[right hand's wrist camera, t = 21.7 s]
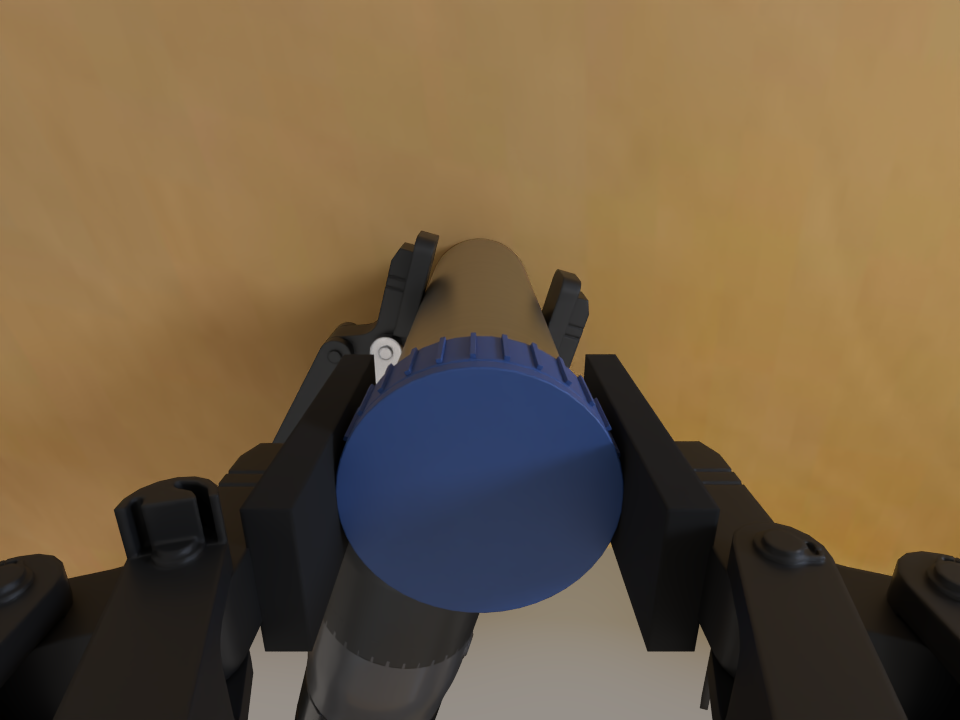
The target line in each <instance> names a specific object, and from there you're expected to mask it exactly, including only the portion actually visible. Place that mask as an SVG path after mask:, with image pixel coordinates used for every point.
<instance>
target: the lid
mask: <svg viewBox="0 0 960 720" xmlns="http://www.w3.org/2000/svg"><path fill="white" fill-rule="evenodd" d="M610 430H612V428H611V426H610V424H609V422H608V420H607V418H606V416H605V414H604V412H603V410H602V408H601V406H600V404H599V401H598V399H597V398H595V399H593V398H592V396H591V394H590V391H589V389H588V387H587V385H586V383H585V381H584V378H583V377H582V376H581V375H580V376H579V377H576V376H575V374H574V373H573V372H572V371H571V370H570V369H569V368H567V367H566V366H565V364H564V361H563V359H562V358H561V357H559V356H558V357H557V359H556V358H554V357H552V356H551V355H549V354H547V353H545V352H544V351H542V350H540V349H538V347H537V344H535V343H533V342H532V343H531V345H528V344H526V343H522V342H518V341H515V340H511V339H508V337H507V335H504V334H502V337H501V338H500V337H493V336H476V332H474V333H471V336H468V337H459V338H453V339H449V340H446V338H445V337H441V338H440V341H439V342H437V343H434V344H432V345H429V346H426V347H424V348H421V349H420V350H418V349H417V347H415V348H413V349H412V350H411V353H410V355H408V356H407V357H405V358H404V359H403V360H401V361H400V362H398V363H397V364H396V365H393V364H392V363H391V364H390V365H388V367H387V369H386V371H385V374H384V376H382V378H381V379H380V380H379V381H378V383H377V384H376V385H373V384H371V385H370V387H369V388H368V390H367V393H366V395H365V397H364V399H363V401H362V403H361V405H360V407H358V409H357V411H356V413H355V415H354V417H353V419H352V421H351V423H350V425H349V427H348V429H347V431H346V434H345V436H344V438H343V440H344V441H346V444H345V446H344V449H343V451H342V454H341V456H340V460H339V464H338V468H337V473H336V497H337V507H338V514H339V519H340V523H341V525H342V528H343V530H344V533H345V535H346V537H347V539H348V541H349V543H350V544H351V546H352V548H353V550H354V551H355V552H356V554H357V555H358V556H359V558H360V559H361V560H362V562H363V563H364V564H365V565H366V566H367V567H368V568H369V569H370V570H371V571H372V572H373V573H374V574H375V575H376V576H377V577H379V578H380V579H381V580H382V581H384V582H385V583H386V584H388V585H389V586H390V587H392V588H394V589H395V590H397V591H399V592H400V593H402V594H404V595H406V596H408V597H410V598H412V599H415V600H417V601H419V602H422V603H425V604H428V605H431V606H434V607H438V608H443V609H447V610H452V611H460V612H471V613H488V612H500V611H506V610H512V609H517V608H521V607H525V606H528V605H531V604H534V603H537V602H540V601H542V600H544V599H547V598H549V597H552V596H553V595H555V594H557V593H559V592H560V591H562V590H564V589H566V588H567V587H568V586H570V585H571V584H573V583H574V582H575V581H577V580H578V579H580V578H581V577H582V576H583V575H584V574H585V573H586V572H587V571H588V570H589V569H590V568H592V566H593V565H594V564H595V563H596V562H597V560H598V559H599V558H600V557H601V556H602V554H603V553H604V551H605V550H606V548H607V546H608V545H609V543H610V542H611V540H612V537H613V535H614V533H615V531H616V529H617V526H618V522H619V519H620V516H621V512H622V503H623V493H624V478H623V473H622V467H621V462H620V459H619V457H620V451H619V449H618V447H617V445H616V443H615V441H614V438H613V436H612V434H611V432H610Z"/></svg>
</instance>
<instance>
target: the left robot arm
mask: <svg viewBox="0 0 960 720" xmlns="http://www.w3.org/2000/svg"><path fill="white" fill-rule="evenodd" d="M438 239H439V236H438V235H435V234H431V233H428V232H424V231H421V232H420V233H419V235H418V236H417V239H416V242H415V245H413V244H409V243H406V242H405V243H404V244H403V245H402V247H401V248H400V249H399V250H398V252H397V253H396V255H395V256H394V257H393V259H392V260H391V265H390V269H389V274H388V278H387V282H386V287H385V291H384V296H383V300H382V304H381V309H380V313H379V318H378V320H377V321H376V322H374V323H371V324H364V325H356V324H354V323H351V322H346V323H343V324H341V325H339V326H338V327H337V329H336V330H335V331H334V332H333V333H332V335H331V336H330V337H329V338H328V339H327V341H326V342H325V343H324V344H323V346H322V347H321V348H320V350H319V352H318V354H317V356H316V358H315V360H314V362H313V364H312V366H311V368H310V370H309V372H308V374H307V376H306V378H305V380H304V382H303V384H302V386H301V388H300V390H299V392H298V394H297V395H296V397H295V399H294V401H293V403H292V405H291V407H290V409H289V411H288V413H287V415H286V417H285V419H284V421H283V423H282V425H281V427H280V429H279V431H278V433H277V435H276V437H275V439H274V441H273V443H285V441H286V440H287V438H288V437H289V435H290V434H291V432H292V431H293V430H294V428H295V427H296V425H297V424H298V422H299V421H300V419H301V418H302V416H303V415H304V413H305V412H306V410H307V409H308V407H309V406H310V404H311V403H312V402H313V400H314V399H315V397H316V396H317V394H318V393H319V391H320V390H321V388H322V387H323V385H324V384H325V382H326V381H327V379H328V378H329V376H330V375H331V373H332V372H333V371H334V369H335V368H336V366H337V365H338V363H339V362H340V360H341V359H342V357H343V356H344V354H374V362H375V376H376V384H377V383H378V381H379V380H380V379H381V378H382V376H384V374H385V371H386V369H387V367H388V365H390V364H391V363H392V364H393V365H396V364H397V362H398V360H399V357H400V355H401V352H402V350H403V347H404V345H405V342H406V340H407V337H408V335H409V332H410V330H411V327H412V325H413V322H414V320H415V317H416V315H417V312H418V310H419V307H420V305H421V302H422V300H423V297H424V295H425V291H426V287H427V283H428V279H429V275H430V271H431V267H432V263H433V259H434V255H435V251H436V247H437V243H438ZM580 289H581V281H580V280H579V278H578V277H577V276H576V275H575V274H573V273H569V272H566V271H563V270H559V269H557V270H556V272H555V274H554V277H553V279H552V282H551V285H550V288H549V291H548V294H547V297H546V300H545V303H544V306H543V309H542V314H543V316H544V319H545V321H546V324H547V326H548V329H549V331H550V334H551V336H552V339H553V341H554V344H555V346H556V349H557V352H558V354H559V357H561V358H562V359H563V361H564V364H565V366H566V367H567V368H569V367H570V365H571V362H572V359H573V356H574V354H575V351H576V348H577V346H578V343H579V339H580V337H581V335H582V332H583V328H584V326H585V324H586V321H587V318H588V316H589V306H588V300H587V298H586V297H585V296H584V294H583V293H582V292H581V291H580ZM478 615H479V613H471V612H460V611H452V610H447V609H443V608H438V607H434V606H431V605H428V604H425V603H422V602H419V601H417V600H415V599H412V598H410V597H408V596H406V595H404V594H402V593H400V592H399V591H397V590H395V589H394V588H392V587H390V586H389V585H388V584H386V583H385V582H384V581H382V580H381V579H380V578H379V577H377V576H376V575H375V574H374V573H373V572H372V571H371V570H370V569H369V568H368V567H367V566H366V565H365V564H364V563H363V562H362V560H361V559H360V558H359V556H358V555H357V554H356V552H355V551H354V550H353V548H352V546H351V544H350V543H349V544H348V547H347V549H346V552H345V555H344V558H343V561H342V564H341V567H340V570H339V573H338V576H337V579H336V582H335V585H334V588H333V591H332V594H331V597H330V600H329V603H328V606H327V609H326V612H325V615H324V618H323V621H322V624H321V627H320V630H319V632H318V635H317V638H316V641H315V644H314V647H313V650H312V651H308V660H307V666H306V671H305V675H304V679H303V683H302V688H301V692H300V696H299V701H298V704H297V710H296V715H295V720H435V718H436V716H437V713H438V710H439V707H440V704H441V701H442V699H443V697H444V695H445V693H446V692H447V690H448V689H449V687H450V686H451V684H452V682H453V680H454V678H455V676H456V674H457V672H458V669H459V667H460V664H461V662H462V659H463V658H464V656H466V654H467V652H468V649H469V646H470V643H471V640H472V637H473V629H474V626H475V623H476V621H477V618H478Z"/></svg>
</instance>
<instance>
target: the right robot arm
mask: <svg viewBox="0 0 960 720" xmlns="http://www.w3.org/2000/svg"><path fill="white" fill-rule="evenodd" d="M584 381H585V383H586V385H587V387H588V389H589V391H590V394H591V396H592V398H593V399H595V398H597V399H598V401H599V404H600V406H601V408H602V410H603V412H604V414H605V416H606V418H607V420H608V422H609V424H610V426H611V428H612V430H610V432H611V434H612V436H613V438H614V441H615V443H616V445H617V447H618V449H619V451H620V457H619V459H620V462H621V467H622V473H623V478H624V493H623V503H622V512H621V516H620V519H619V522H618V526H617V529H616V531H615V533H614V535H613V537H612V540H611V545H612V548H613V550H614V553H615V556H616V559H617V562H618V565H619V568H620V571H621V574H622V577H623V580H624V583H625V586H626V589H627V592H628V595H629V598H630V601H631V604H632V607H633V610H634V613H635V616H636V619H637V622H638V625H639V627H640V630H641V633H642V636H643V639H644V642H645V645H646V648H647V651H695V646H696V640H697V635H698V629H699V624H700V625H701V628H702V630H703V632H704V634H705V636H706V638H707V640H708V643H709V645H710V647H711V651H710V656H709V661H708V666H707V671H706V676H705V681H704V687H703V692H702V697H701V704H700V708H701V709H705V710H708V705H709V700H710V703H711V711H712V719H713V720H960V559H959V558H954V557H953V556H949V555H944V554H938V553H931V552H924V551H920V552H912V553H906V554H905V555H904V556H902V557H901V558H900V559H898V561H897V564H896V567H895V570H894V573H893V576H889V575H884V574H879V573H874V572H869V571H865V570H860V569H855V568H850V567H846V566H842V565H839V564H835V562H834V560H833V558H832V556H831V555H830V554H829V552H828V551H827V550H826V548H825V547H824V546H823V545H822V544H820V543H819V542H817V541H816V540H815V539H813V538H812V537H811V536H809V535H807V534H805V533H803V532H801V531H799V530H796V529H794V528H792V527H789V526H785V525H781V524H777V523H774V522H773V521H772V519H771V518H770V517H769V516H768V514H767V513H766V512H765V511H764V509H763V508H762V507H761V506H760V504H759V503H758V502H757V501H756V499H755V498H754V497H753V496H752V494H751V493H750V492H749V491H748V489H747V488H746V487H745V486H744V485H742V484H741V481H740V479H739V478H738V477H737V476H736V474H735V473H734V472H731V468H730V467H729V466H728V464H727V463H726V462H725V461H724V459H723V458H722V457H721V456H720V454H718V453H717V452H715V451H714V450H712V449H710V448H709V447H707V446H706V445H704V444H703V443H701V442H699V441H674V440H673V439H672V437H671V436H670V434H669V433H668V432H667V430H666V429H665V427H664V426H663V424H662V423H661V421H660V420H659V418H658V417H657V415H656V414H655V412H654V411H653V409H652V408H651V406H650V405H649V403H648V402H647V401H646V399H645V398H644V396H643V395H642V393H641V392H640V390H639V389H638V387H637V386H636V384H635V383H634V381H633V380H632V378H631V377H630V375H629V374H628V373H627V371H626V370H625V368H624V367H623V365H622V364H621V362H620V361H619V359H618V358H617V356H616V355H615V354H586V357H585V371H584ZM371 384H373V385H376V376H375V362H374V354H344V356H343V357H342V359H341V360H340V362H339V363H338V365H337V366H336V368H335V369H334V371H333V372H332V373H331V375H330V376H329V378H328V379H327V381H326V382H325V384H324V385H323V387H322V388H321V390H320V391H319V393H318V394H317V396H316V397H315V399H314V400H313V402H312V403H311V404H310V406H309V407H308V409H307V410H306V412H305V413H304V415H303V416H302V418H301V419H300V421H299V422H298V424H297V425H296V427H295V428H294V430H293V431H292V432H291V434H290V435H289V437H288V438H287V440H286V441H285V443H260V444H259V445H257V446H256V447H254V448H252V449H251V450H249V451H248V452H246V453H244V454H243V455H241V456H240V457H239V459H238V460H237V461H236V462H235V464H234V465H233V466H232V467H231V469H230V470H229V473H228V474H226V475H225V476H224V477H223V479H222V480H221V481H220V482H219V486H218V487H217V485H216V484H214V483H213V482H212V481H210V480H209V479H205V478H200V477H177V478H172V479H168V480H163V481H159V482H156V483H153V484H151V485H148V486H146V487H143V488H141V489H139V490H137V491H136V492H134V493H132V494H131V495H129V496H128V497H126V498H124V499H123V500H122V501H121V503H120V504H119V505H118V506H117V507H116V508H115V509H114V512H115V516H116V519H117V523H118V527H119V530H120V534H121V537H122V541H123V545H124V548H125V552H126V556H127V561H126V563H125V565H124V566H123V567H119V568H116V569H112V570H107V571H102V572H97V573H93V574H88V575H83V576H78V577H74V578H69V579H68V578H67V575H66V572H65V569H64V566H63V563H62V562H61V561H60V560H59V559H57V558H56V557H55V556H52V555H44V554H34V555H26V556H19V557H14V558H10V559H7V560H6V561H4V560H3V561H0V720H248V712H249V704H250V695H251V687H252V678H253V668H252V661H251V656H250V651H249V649H250V647H251V645H252V642H253V640H254V638H255V636H256V634H257V632H258V630H259V627H260V626H261V631H262V637H263V642H264V648H265V651H312V650H313V647H314V644H315V641H316V638H317V635H318V632H319V630H320V627H321V624H322V621H323V618H324V615H325V612H326V609H327V606H328V603H329V600H330V597H331V594H332V591H333V588H334V585H335V582H336V579H337V576H338V573H339V570H340V567H341V564H342V561H343V558H344V555H345V552H346V549H347V547H348V544H349V541H348V539H347V537H346V535H345V533H344V530H343V528H342V525H341V523H340V519H339V514H338V507H337V497H336V473H337V468H338V464H339V460H340V456H341V454H342V451H343V449H344V446H345V444H346V441H344V440H343V438H344V436H345V434H346V431H347V429H348V427H349V425H350V423H351V421H352V419H353V417H354V415H355V413H356V411H357V409H358V407H360V405H361V403H362V401H363V399H364V397H365V395H366V393H367V390H368V388H369V387H370V385H371Z"/></svg>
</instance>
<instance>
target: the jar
mask: <svg viewBox="0 0 960 720" xmlns="http://www.w3.org/2000/svg"><path fill="white" fill-rule="evenodd" d="M474 332H476V336H493V337H500V338H501V337H502V334H504V335H507V337H508V339H511V340H515V341H518V342H522V343H526V344H528V345H531V343H532V342H533V343H535V344H537V347H538V349H540V350H542V351H544V352H545V353H547V354H549V355H551V356H552V357H554V358H556V359H557V357H558V356H559V354H558V352H557V349H556V346H555V344H554V341H553V339H552V336H551V334H550V331H549V329H548V326H547V324H546V321H545V319H544V316H543V314H542V311H541V308H540V306H539V303H538V301H537V298H536V296H535V293H534V291H533V288H532V286H531V283H530V281H529V278H528V276H527V273H526V271H525V268H524V266H523V264H522V262H521V260H520V259H519V258H518V257H517V255H516V254H515V253H514V252H513V251H512V250H510V249H509V248H508V247H506V246H504V245H503V244H501V243H498V242H496V241H492V240H488V239H472V240H467V241H464V242H461V243H459V244H457V245H455V246H454V247H452V248H451V249H449V250H448V251H447V252H446V253H445V254H444V255H443V256H442V257H441V259H440V260H439V261H438V263H437V265H436V267H435V269H434V272H433V274H432V277H431V279H430V282H429V284H428V287H427V290H426V292H425V295H424V297H423V300H422V302H421V305H420V307H419V310H418V312H417V315H416V317H415V320H414V322H413V325H412V327H411V330H410V332H409V335H408V337H407V340H406V342H405V345H404V347H403V350H402V352H401V355H400V357H399V360H398V362H400V361H401V360H403V359H404V358H405V357H407V356H408V355H410V353H411V350H412V349H413V348H415V347H417V349H418V350H420V349H421V348H424V347H426V346H429V345H432V344H434V343H437V342H439V341H440V338H441V337H445V338H446V340H449V339H453V338H459V337H468V336H471V333H474ZM398 362H397V363H398Z"/></svg>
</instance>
